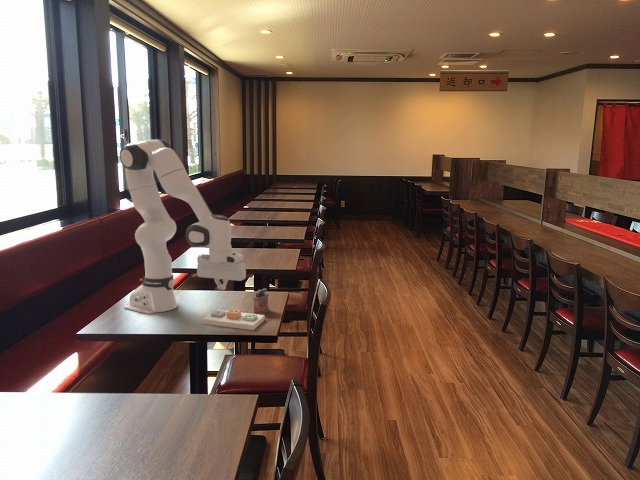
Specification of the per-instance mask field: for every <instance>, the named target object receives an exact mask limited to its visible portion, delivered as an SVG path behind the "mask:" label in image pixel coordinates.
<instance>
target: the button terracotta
mask: <svg viewBox="0 0 640 480" xmlns="http://www.w3.org/2000/svg"><path fill="white" fill-rule="evenodd" d="M227 311H228V312H226V314H227V319H234V320H237V319H239V318H240V317H241V312H242V309H236V308H235V309H234V308H231V309H229V310H227Z"/></svg>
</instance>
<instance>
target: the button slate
mask: <svg viewBox="0 0 640 480" xmlns="http://www.w3.org/2000/svg"><path fill="white" fill-rule="evenodd" d="M219 310H220V309H217V310H216V309H214V310H213V311H214V312H213V311H212V312H210V313H211V317H218V318H222V317H223V316H224V315H226V311H227V310H225V311H219Z"/></svg>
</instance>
